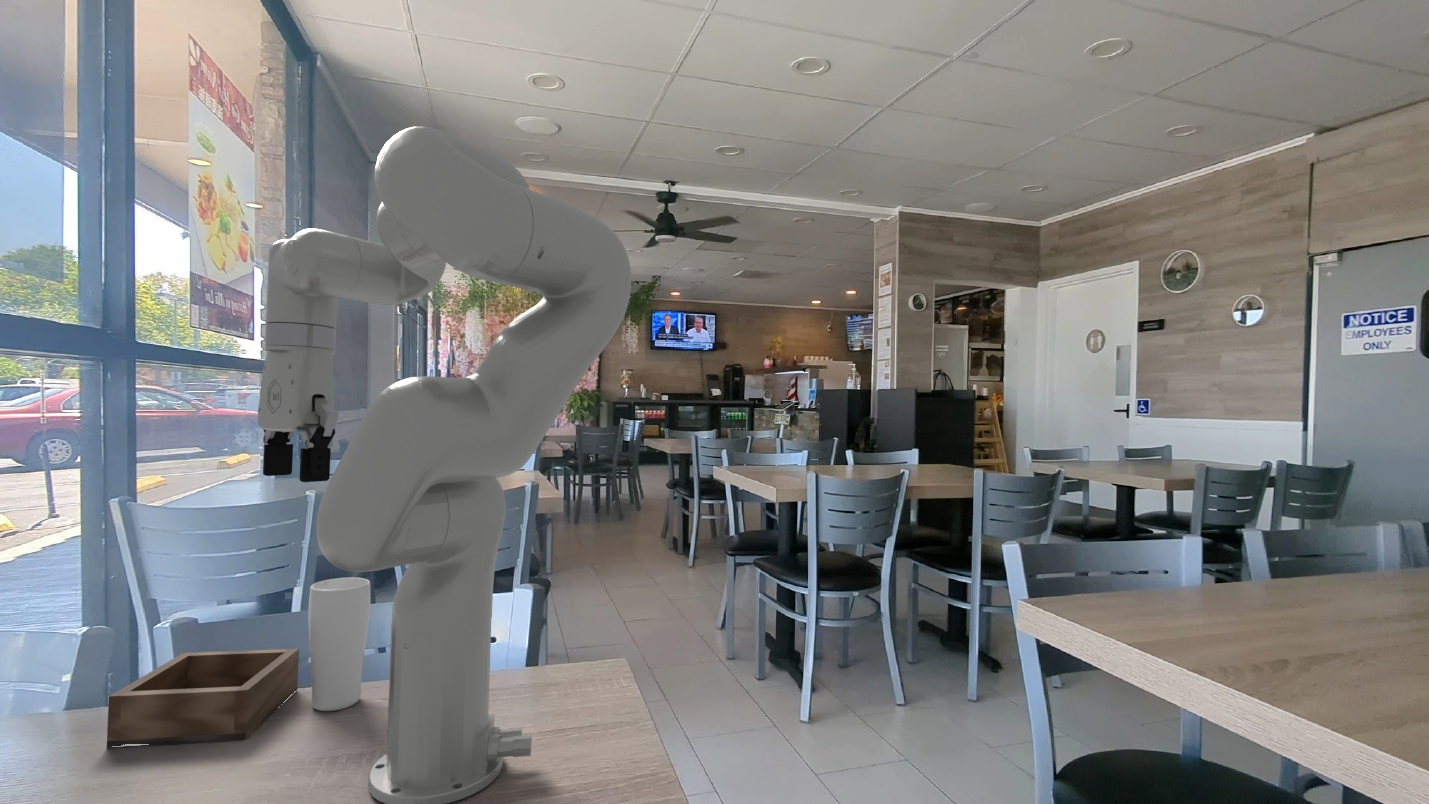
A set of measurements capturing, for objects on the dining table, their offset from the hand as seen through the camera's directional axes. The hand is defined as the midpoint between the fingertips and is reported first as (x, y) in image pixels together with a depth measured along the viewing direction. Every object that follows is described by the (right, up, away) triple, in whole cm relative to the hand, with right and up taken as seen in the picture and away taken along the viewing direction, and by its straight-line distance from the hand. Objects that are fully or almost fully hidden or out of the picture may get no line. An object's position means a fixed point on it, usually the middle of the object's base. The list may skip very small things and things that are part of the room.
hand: (295, 478), depth 84 cm
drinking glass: (+5, -29, 0) cm, 29 cm away
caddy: (-8, -28, -4) cm, 29 cm away
